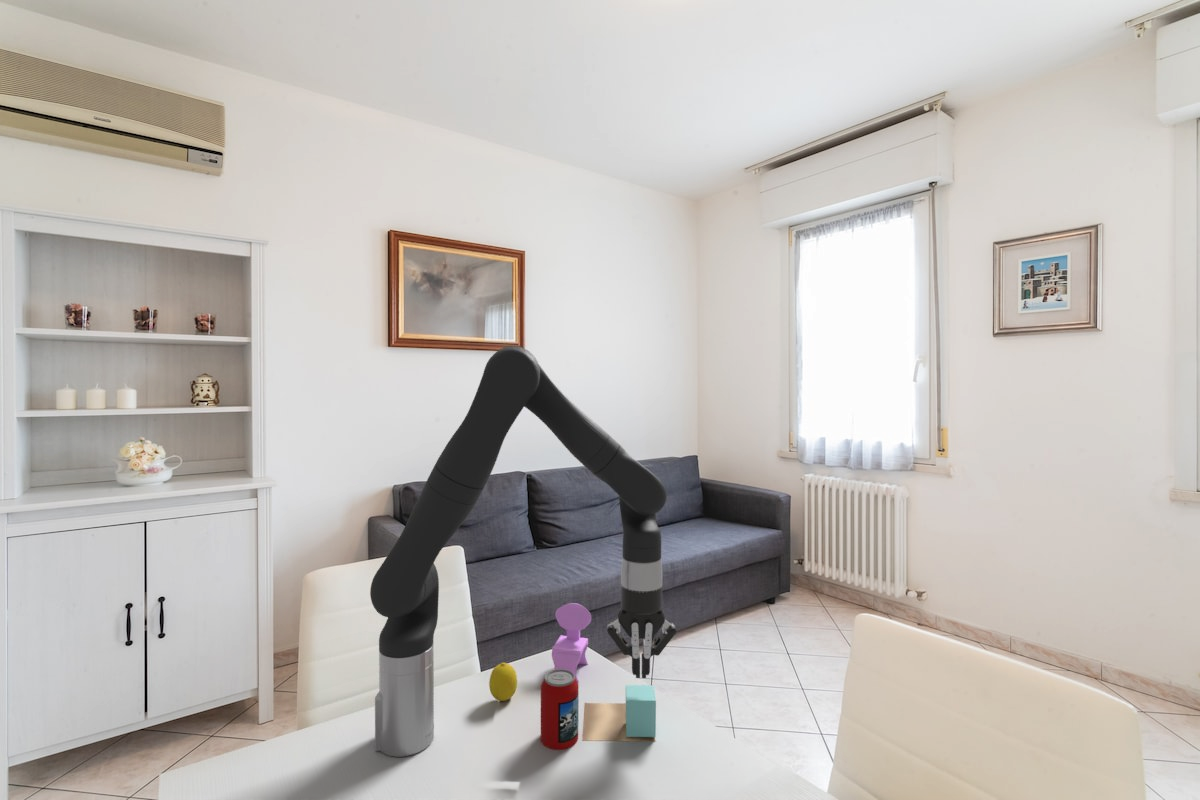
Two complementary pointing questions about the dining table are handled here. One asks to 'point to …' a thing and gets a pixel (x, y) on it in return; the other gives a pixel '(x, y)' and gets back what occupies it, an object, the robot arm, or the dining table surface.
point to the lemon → (503, 682)
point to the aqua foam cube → (640, 711)
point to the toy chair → (571, 637)
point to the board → (607, 723)
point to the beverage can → (559, 710)
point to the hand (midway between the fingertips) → (640, 675)
